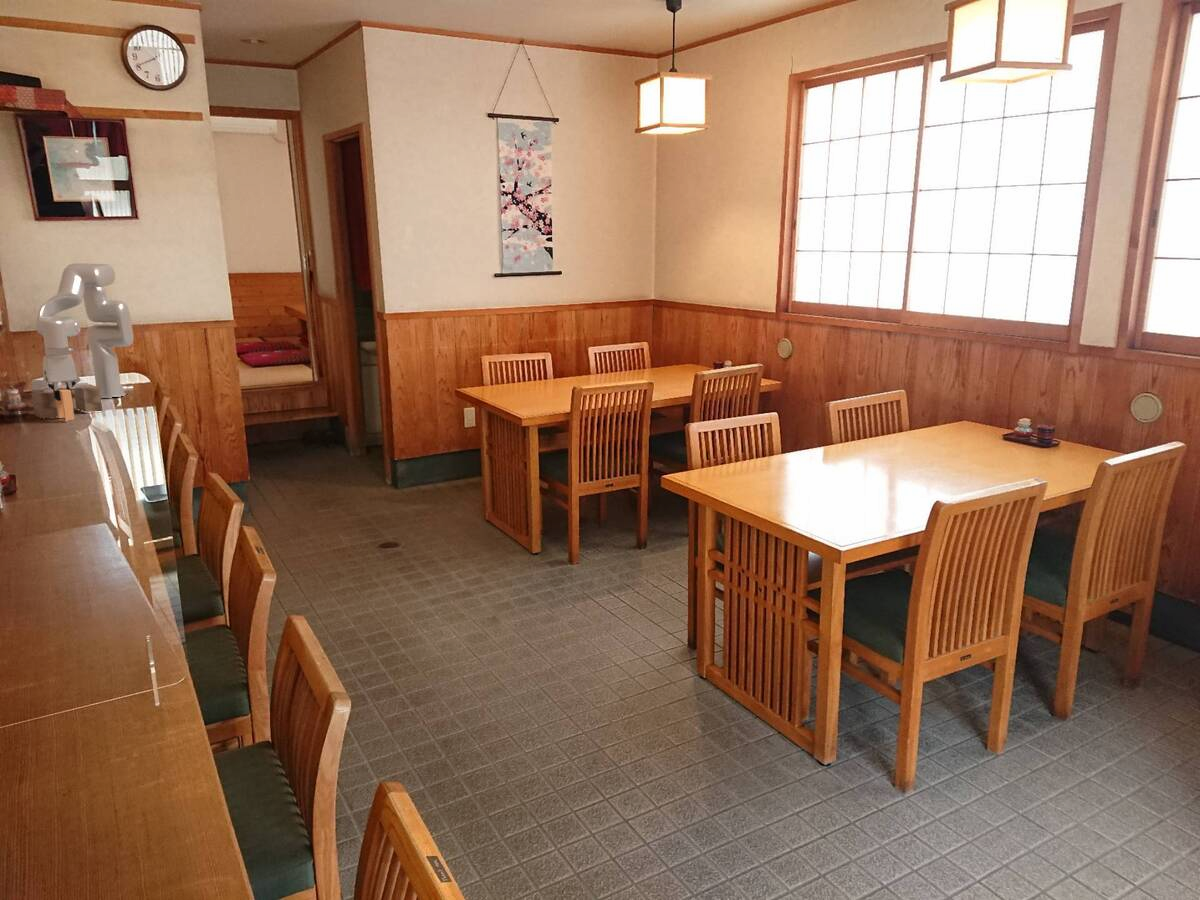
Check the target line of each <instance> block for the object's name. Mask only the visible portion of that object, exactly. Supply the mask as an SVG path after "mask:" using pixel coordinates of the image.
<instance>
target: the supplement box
mask: <svg viewBox="0 0 1200 900" xmlns="http://www.w3.org/2000/svg"><path fill="white" fill-rule="evenodd" d="M43 378H44V376H43V377H40V378H36V379H32V381H31V383H32V390H39V389H42V387H48V386H45V385H42V384H41V383H42V381H43ZM47 383H49V384H52V383H50V382H48V381H47ZM58 385H63V384H62V382H58Z"/></svg>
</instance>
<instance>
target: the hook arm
mask: <svg viewBox="0 0 1200 900" xmlns="http://www.w3.org/2000/svg"><path fill="white" fill-rule="evenodd" d="M89 384H90V383H89V382H80V383H79V382H78V383H76V384H75V385H74V386H73V388H72V389H71V390H74V388H83V387H89ZM58 388H65V389H66V384H62V385H58ZM42 391H43V392H46V391H53V390H52V389H51V388H50V387H42Z"/></svg>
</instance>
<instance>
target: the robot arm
mask: <svg viewBox="0 0 1200 900" xmlns="http://www.w3.org/2000/svg"><path fill="white" fill-rule="evenodd" d="M115 279H116V272H115V269H114V268H113V267H112V265H110V264H107V263H84V262H83V263H81V262H80V263H79V262H77V263H76V262H75V263H70V264H68V265H67V266H66V267H65V268H63V271H62V274H61V279H60V282H59V286H58V290H57V294H55V295H53V296H52V297H51V298H49V299H48V300H47V301H45V302H44V303H43V304H42V305H41V306H40V308H39V310H38V314H37V316H36V317H37V318H36V323H35V328H36V332H37V333H38V334H39V335H40V336H43V342H44V349H45V355H44V356H43V358H42V359H43V360H42V361H43V362H42V374H43V377H44V378H43V377H42V378H43V381H42V383H41V384H42V385H45V386H48V387H50V388H51V389H52V390H53V391H54V398H55V399H56V400H58V401H60V400H61V398H60V391H59V390H58V382H61V383H65V385H66V389H68V390H70V391H71V396H72V397H73V389H72V388H73V386H74V385H75V384H78V383H79V382H80V383H81V378H80V377H79V375H78V374H77V370H76V364H75V362H74V359H73V356H72V354H71V352H72V353H73V352H74V348H72V347H69V342H68V337H69V338H70V337H71V338H72V337H76V336H77V335H79V334H80V332H81V328H82V325H81V323H80V321H79V320H78V319H77V318H75V317H72V316H71V317H70V316H55V315H57V314H58V313H60V312H62V311H66V310H69V309H72V308H75V307H77V306H79V305H81V304H82V302H83V303H84V306H85V307H84V308H85V312H86V315H87V318H88V320H89V321H91V322H93V323H97V324H93V325H91V326H89V327H88V328H87V330H86V337H87V339H88V343H89V347H90V351H91V357H92V359H91V360H92V366H93V372H94V373H93V374H94V380H95V386H96V387H99V388H100V395H101V398H109V399H111V398H110V397H119V398H122V397H121V396H123V397H125V396H126V395H127V394H126V391H134V387H133V385H123V384H121V376H120V367H119V366H120V365H119V358H118V355H117V353H116V351H114V350H113V348H112V347H115V348H116V347H117V348H119V347H121V348H122V347H130V346H132V345H133V343H134V339H135V338H134V332H133V331H134V330H133V326H132V319H131V316H130V315H131V314H130V310H129V307H128V305H127V303H126V302H124V301H122V300H117V299H114V300H113V299H111V300H110V299H108V297H107V293H106V289H105V287H108V286H110V285H112V284H113V283H114V282H115ZM99 323H101V324H99ZM102 323H104V324H102ZM105 323H106V324H105ZM107 323H109V324H107ZM110 323H112V324H110ZM113 323H114V324H113ZM47 381H48V382H50V383H52V384H49V383H47Z"/></svg>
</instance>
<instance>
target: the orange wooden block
mask: <svg viewBox="0 0 1200 900" xmlns="http://www.w3.org/2000/svg"><path fill="white" fill-rule="evenodd" d="M58 390H59V391H60V398H61V400H60V401H58V400H56V407H57V414H58V418H63V417H64V418H65V419H64V422H65V421H68V420H73V419H75V414H74V413H75V412H74V404H73V398H72V397H73V395H72V396H71V391H70V390H68V389H65V388H58ZM58 418H57V419H58Z"/></svg>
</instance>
